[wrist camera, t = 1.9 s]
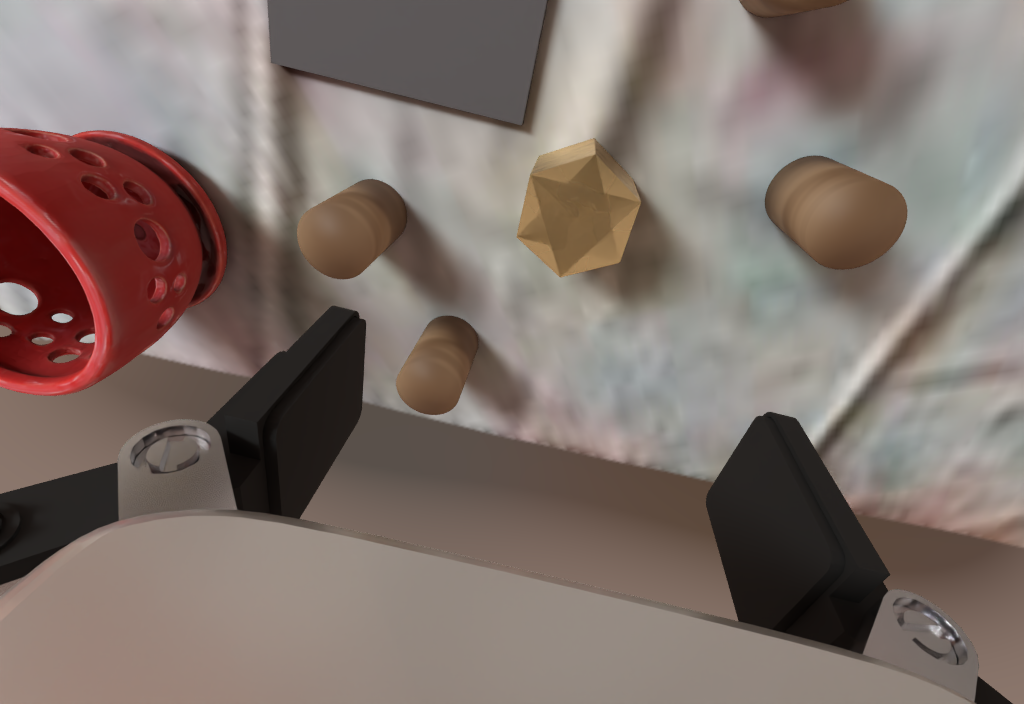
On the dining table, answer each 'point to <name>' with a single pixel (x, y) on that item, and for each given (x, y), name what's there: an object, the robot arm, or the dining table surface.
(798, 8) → the cylinder
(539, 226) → the tan faceted block
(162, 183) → the plant pot
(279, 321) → the dining table surface
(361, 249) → the cylinder
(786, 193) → the cylinder
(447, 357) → the cylinder
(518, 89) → the mat
